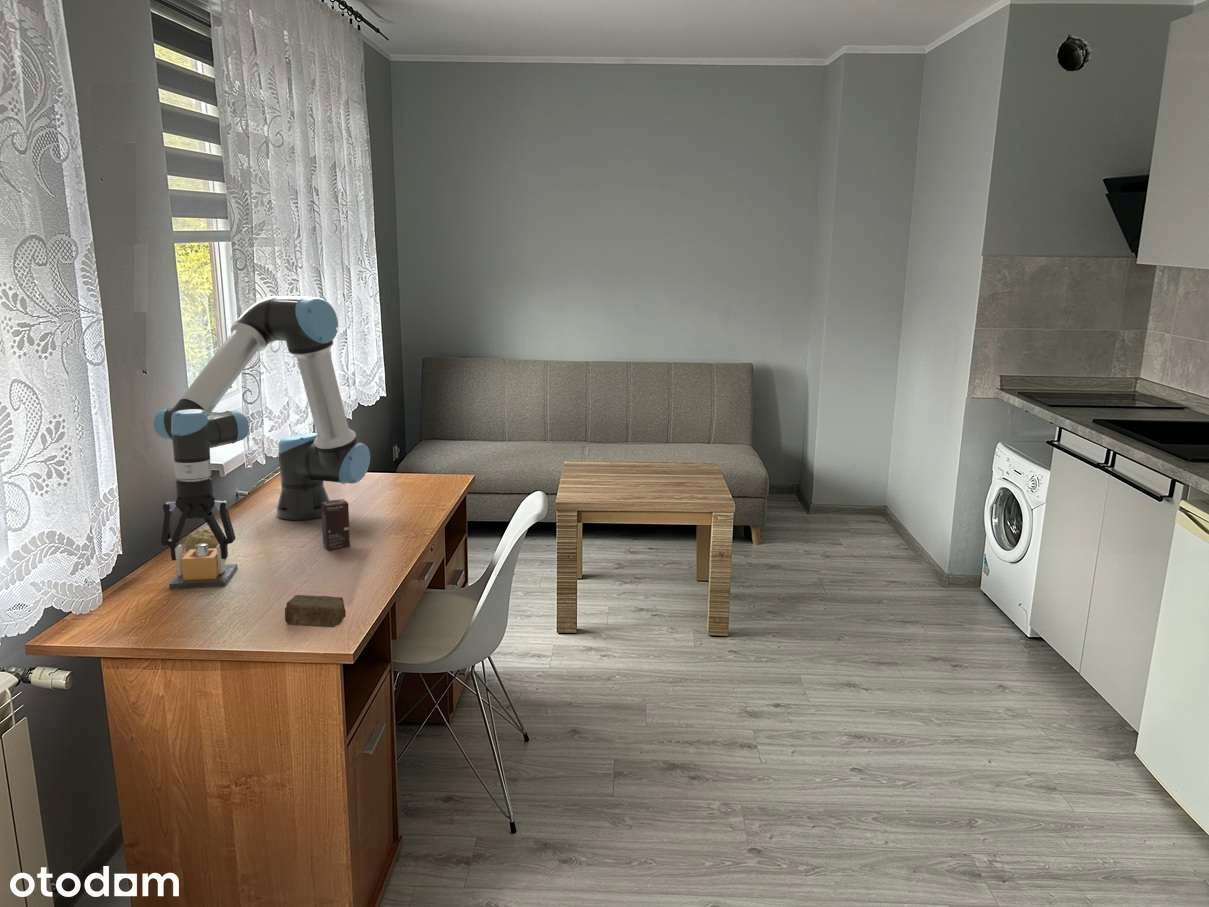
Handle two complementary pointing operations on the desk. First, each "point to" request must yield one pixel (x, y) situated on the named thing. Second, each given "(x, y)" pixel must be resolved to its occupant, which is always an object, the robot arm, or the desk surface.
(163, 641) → the desk surface
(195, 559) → the tan square-hole block
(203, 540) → the decorative item
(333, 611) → the stone block
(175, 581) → the keeper
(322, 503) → the box
